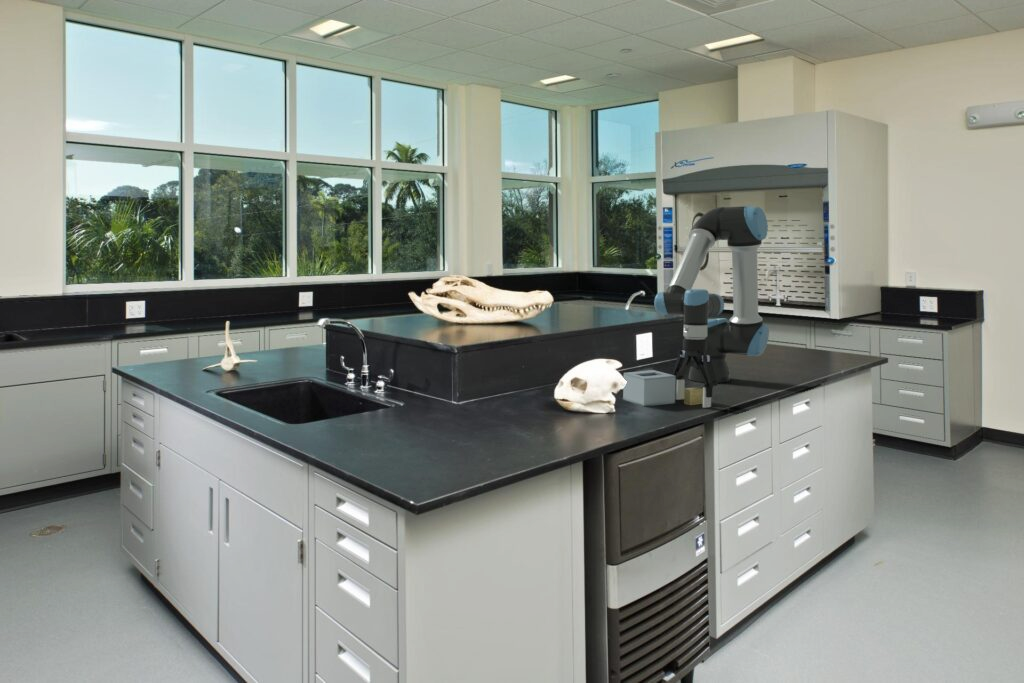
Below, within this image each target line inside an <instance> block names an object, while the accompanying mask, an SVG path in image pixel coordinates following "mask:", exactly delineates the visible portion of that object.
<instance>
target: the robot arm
mask: <svg viewBox="0 0 1024 683" xmlns="http://www.w3.org/2000/svg"><path fill="white" fill-rule="evenodd" d="M768 227H769V226H768V219H767V215H766V213H765V212H764V210H763V209H762V208H761V207H759V206H751V205H743V206H742V205H741V206H719V207H715V208H712V209H711V210H708V211H707V212H706V213H704V214H702V216H701V217H700V218H698V219H697V221H696V222H695V223H694V225H693V226H692V228H691V229H690V232H688V233H689V234H688V243H687V245H686V246H685V250H684V252H683V253H682V256H681V258H680V261H679V262H678V264H677V267H676V269H675V272H674V274H673V276H672V278H671V281H669V282H670V283H669V285H668V287H667V288H666V291H662V292H657V293H656V295H655V296H654V301H653V303H654V309H655V311H656V313H658V314H659V315H666V316H683V331H682V332H683V337H684V338H683V339H682V349H683V350H678V353H677V359H676V361H675V365H674V367H673V370H672V373H671V375H674V376H676V379H675V400H678V401H679V400H684V388H686V386H685V384H686V383H685V382H686V381H685V376H686V374H687V373H688V371H689V370H690V371H689V373H688V380H690V381H693V382H699V383H703V384H704V386H703V387H702V389H703V404H702V408H711V407H712V397H713V389H714V388H713V387H716V386H718V383H727V382H730V381H731V373H730V371H729V367H728V363H727V359H726V358H727V356H726V355H727V354H728V355H738V356H747V357H750V356H751V357H753V356H754V357H758V356H761V355H762V354H763V353H764V352H765V349H766V347H767V345H768V341H769V336H770V334H769V333H770V329H769V326H768V325H767V324H764V320H763V317H762V316H760V314H759V288H758V286H759V283H758V282H759V281H758V279H759V277H758V269H759V268H758V249H759V248H760V246H762V244H763V242H762V241H764V240H765V239H766V238H767V235H768V230H769V229H768ZM724 240H725V241H727V243H726V244H727V247H728V248H729V249H730V250H731V260H732V261H731V262H732V267H731V268H732V303H733V308H732V309H733V310H732V311H733V314H732V316H731V317H730V318H729V322H728V318H725V317H723V318H722V317H721V318H719V317H718V318H714V317H717V316H719V315H720V314H721V313H722V312H723V311H724V308H725V301H724V299H723V298H722V296H721V295H719V294H717V293H710V292H709V291H708V290H707V289H704V288H703V289H700V288H698V289H697V288H696V289H695V288H693V287H694V284H695V282H696V280H697V278H698V275H699V273H700V271H701V269H702V266H703V263H704V261H705V259H706V257H707V255H708V253H709V250H710V249H711V248H712V247H714V246H715V244H716V242H718V241H724Z"/></svg>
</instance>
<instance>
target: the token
mask: <svg viewBox="0 0 1024 683" xmlns="http://www.w3.org/2000/svg"><path fill="white" fill-rule="evenodd" d="M683 404H685V405H687V406H688V405H689V406H695V405H696V406H697V405H703V387H702V388H701V387H697V386H695V387H685V388H684V399H683Z"/></svg>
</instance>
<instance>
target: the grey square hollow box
mask: <svg viewBox="0 0 1024 683" xmlns="http://www.w3.org/2000/svg"><path fill="white" fill-rule="evenodd" d="M623 378H624V379H625V380H626V381H627V384H626V386H625V387H624V388H622V390H623V391H622V392H623V393H622V396H623V397H622V400H623V401H626V402H629V403H632V404H635V405H638V406H640V407H643V408H644V407H645V408H646V407H652V406H660V405H670V404H671V405H672V404H675V403H676V376H674V375H672V373H666V372H663V371H658V370H655V369H654V370H653V369H651V370H640V371H638V370H637V371H629V372H623Z"/></svg>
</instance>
